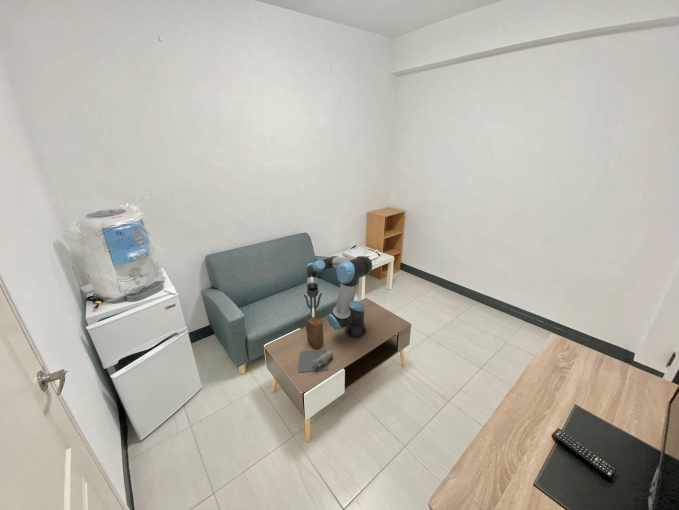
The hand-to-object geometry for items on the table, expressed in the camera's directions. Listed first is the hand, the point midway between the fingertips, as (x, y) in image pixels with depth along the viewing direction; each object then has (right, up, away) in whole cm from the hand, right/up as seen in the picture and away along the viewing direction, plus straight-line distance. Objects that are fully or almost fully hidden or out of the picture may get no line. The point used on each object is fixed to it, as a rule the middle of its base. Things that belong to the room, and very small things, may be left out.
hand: (313, 317), depth 185 cm
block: (+1, -18, -1) cm, 18 cm away
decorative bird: (+8, -24, -18) cm, 31 cm away
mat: (+2, -23, -15) cm, 28 cm away
